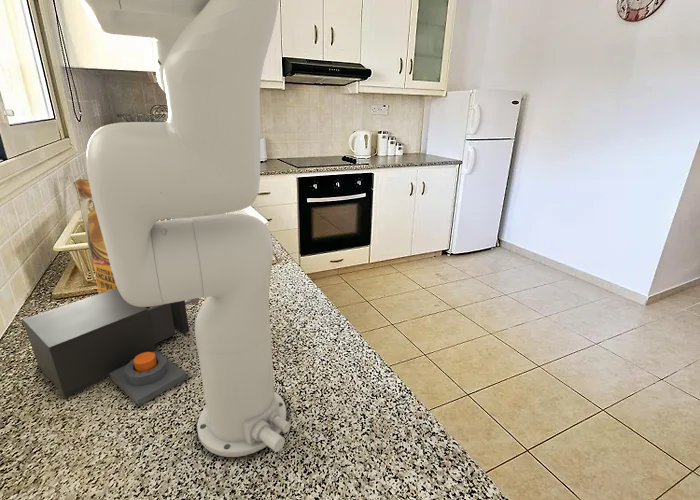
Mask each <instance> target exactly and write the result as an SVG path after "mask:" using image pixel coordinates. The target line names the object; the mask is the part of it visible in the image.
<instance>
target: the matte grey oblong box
mask: <svg viewBox="0 0 700 500" xmlns="http://www.w3.org/2000/svg"><path fill="white" fill-rule="evenodd" d="M21 321H22V323H23V325H24V328H25V331H26V332H25V333H26V335H27V337H28V340H29V343H30V346H31V349H32V352H33V354H34V357H35V360H36V363H37V366H38V367H39V369H40V370H41V371H42V372H43V374H44V375H45V376H46V377H47V378H48V379H49V381H50V382H51V383H52V384H53V386H54V387H55V388H56V389H57V390H58V392H59V393H60V394H61V396H63V398H64V399H67V398H69V397H71V396H73V395H75V394H77V393H79V392H81V391H83V390H85V389H87V388H88V387H91V386H93V385H96V384H98V383H100V382H101V381H103V380H106V379H107V378H110V375H109V373H111V372H113V371H115V370H117V369H119V368H121V367H123V366H125V365H127V364H128V363H129V362H130V361H131V360H133V359H134V358H135V357H136V356H137V355H139V354H141V353H144V352H154V351H157V350H156V349H157V348H156V344H154V339H153V334H152V329H151V324H150V319H149V314H148V309H147V308H145V307H137V306H133V305H131V304H129V303H128V302H126V301H125V300H124V299H123V297H122V296H121V294H120V292H119V291H118V290H117V289H116V288H115V289H112V290H109V291H106V292H103V293H100V294H99V293H98V294H95V295H92V296H91V295H90V296H89V297H86V298H82V299H79V300H76V301H73V302H70V303H67V304H63V305H61V306H58V307H55V308H53V309H49V310H46V311H42V312H40V313H37V314H34V315H31V316H27V317H25V318H22V320H21Z"/></svg>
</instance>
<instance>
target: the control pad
mask: <svg viewBox="0 0 700 500" xmlns="http://www.w3.org/2000/svg"><path fill="white" fill-rule="evenodd" d="M153 353H154V354H155V357H156V361H157V365H156V366H155V367H154V368H152V369H151V370H149V371H144V372H137V371H136V370H135V365H134V359H133V360H131V361H130V362H129V363H128V364H127V365H125V366H123V367H121V368H119V369H117V370H115V371H113V372H111V373H109V375H110V376H109V378H110V380H111V381H112V382H113V383H114V384H116V386H118V387H119V389H121V390H122V392H124V393H125V394H126V395H127V397H129V398H130V399H131V400H132V401H133V402H134V403H135V404H136V405H137V406H142V405H143V404H145V403H147V402H148V401H151V400H152V399H154V398H156V397H157V396H159V395H161V394H163V393H164V392H166V391H168V390H169V389H172V388H173V387H174V386H176V385H179V384H180V383H181V382H183V381H185V380H187V379H188V376H187V372H186V371H184V370H183V369H182V368H181V367H179V366H177V365H176V364H175V363H174V362H173V361H171V360H170V359H168V358H167V357H166V356H165V355H164V354H162V353H160V352H159V351H157V350H156V351H154V352H153Z"/></svg>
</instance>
